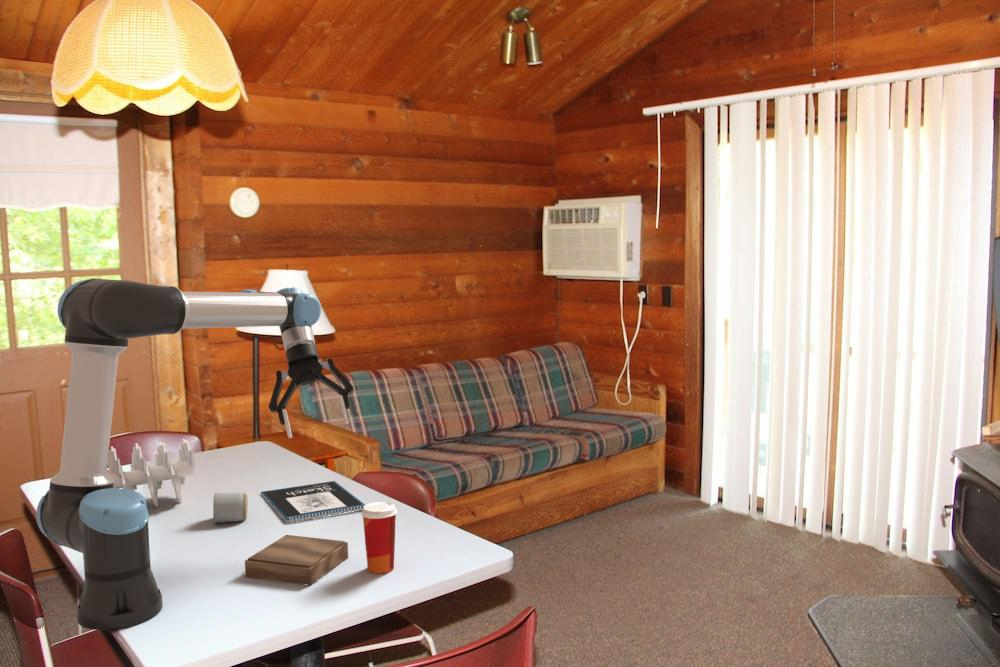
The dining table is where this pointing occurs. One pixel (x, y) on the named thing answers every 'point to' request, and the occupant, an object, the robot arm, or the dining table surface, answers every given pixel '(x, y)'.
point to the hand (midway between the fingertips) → (318, 429)
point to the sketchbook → (312, 501)
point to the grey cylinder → (229, 507)
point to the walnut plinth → (296, 559)
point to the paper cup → (379, 536)
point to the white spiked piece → (153, 470)
